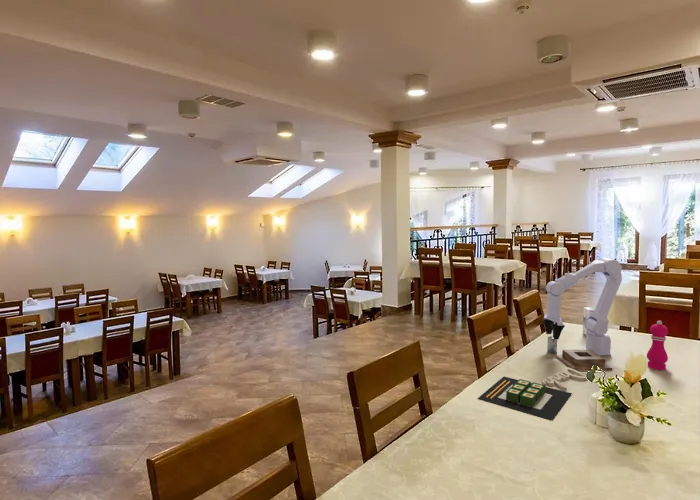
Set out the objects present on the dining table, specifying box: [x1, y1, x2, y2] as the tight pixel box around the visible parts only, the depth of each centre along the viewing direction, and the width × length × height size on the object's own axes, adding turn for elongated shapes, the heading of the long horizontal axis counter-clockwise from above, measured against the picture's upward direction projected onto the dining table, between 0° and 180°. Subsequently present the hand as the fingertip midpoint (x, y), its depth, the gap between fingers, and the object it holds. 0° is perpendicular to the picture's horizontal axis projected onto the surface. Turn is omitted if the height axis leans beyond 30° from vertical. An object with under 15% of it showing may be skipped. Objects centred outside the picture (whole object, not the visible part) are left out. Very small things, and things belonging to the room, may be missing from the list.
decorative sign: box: [541, 366, 587, 392], centre depth 168 cm, size 23×2×10 cm
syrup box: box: [582, 306, 596, 336], centre depth 223 cm, size 6×6×14 cm
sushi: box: [477, 376, 573, 422], centre depth 155 cm, size 25×25×4 cm
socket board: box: [555, 349, 613, 371], centre depth 186 cm, size 16×16×4 cm
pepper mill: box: [646, 320, 669, 371], centre depth 179 cm, size 7×7×20 cm
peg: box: [546, 335, 558, 355], centre depth 199 cm, size 4×4×7 cm
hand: (552, 336), depth 199 cm, fingers open, 7 cm apart
